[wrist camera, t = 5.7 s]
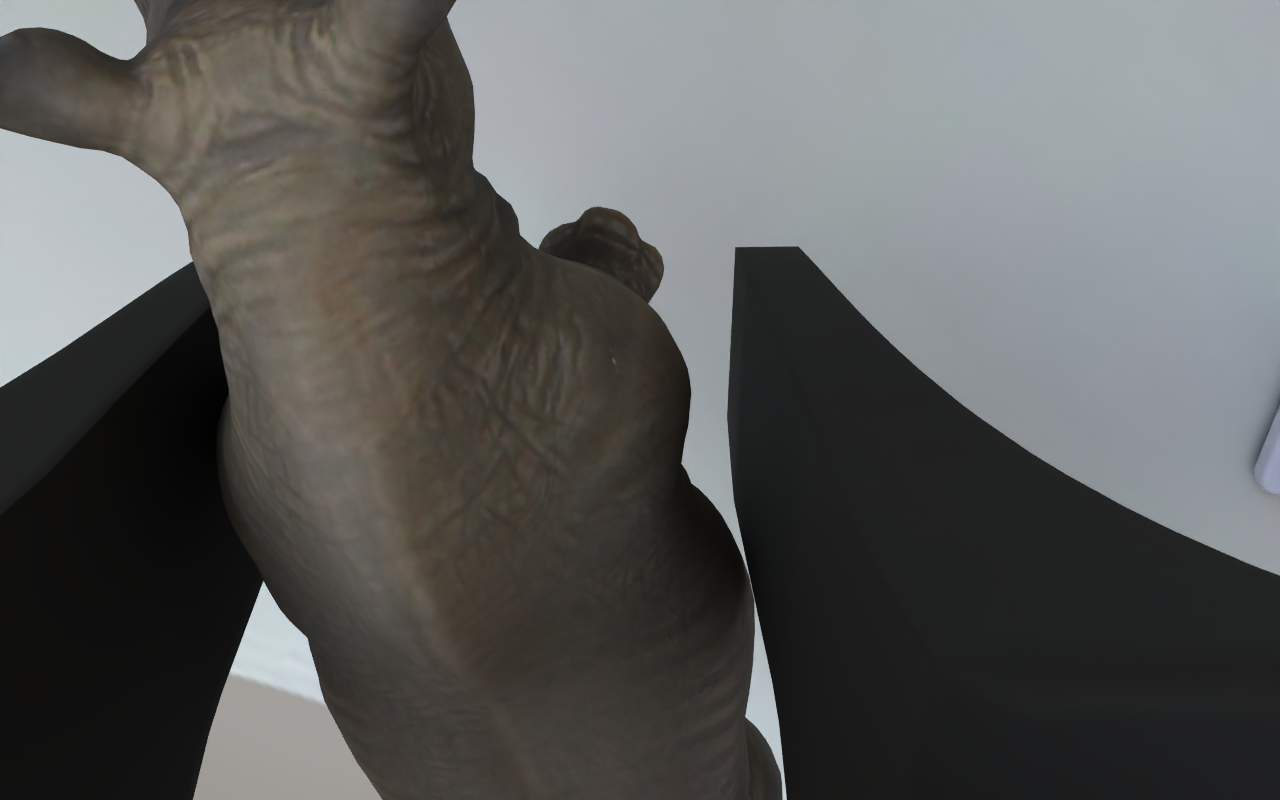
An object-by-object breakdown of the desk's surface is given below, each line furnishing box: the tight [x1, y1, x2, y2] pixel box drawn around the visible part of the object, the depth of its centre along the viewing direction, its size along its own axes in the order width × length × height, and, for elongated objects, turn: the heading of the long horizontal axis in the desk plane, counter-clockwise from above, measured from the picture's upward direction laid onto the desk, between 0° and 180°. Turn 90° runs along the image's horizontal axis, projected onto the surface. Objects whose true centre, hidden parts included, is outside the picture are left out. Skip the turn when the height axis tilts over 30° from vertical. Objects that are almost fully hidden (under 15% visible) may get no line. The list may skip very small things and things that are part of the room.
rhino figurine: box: [0, 0, 782, 800], centre depth 10 cm, size 4×14×6 cm, turn 14°
